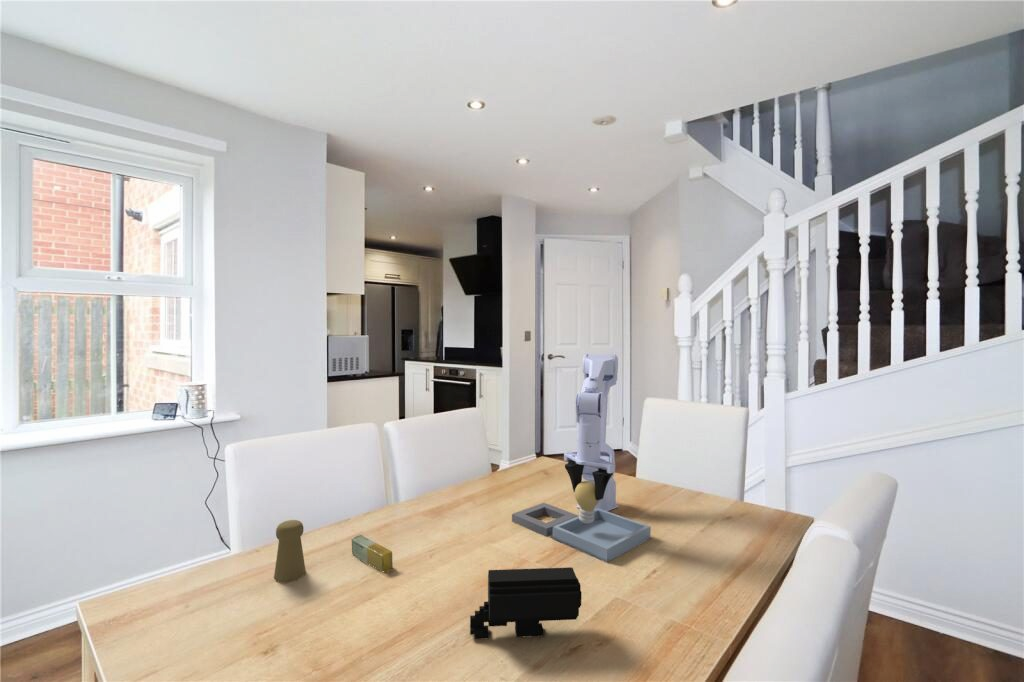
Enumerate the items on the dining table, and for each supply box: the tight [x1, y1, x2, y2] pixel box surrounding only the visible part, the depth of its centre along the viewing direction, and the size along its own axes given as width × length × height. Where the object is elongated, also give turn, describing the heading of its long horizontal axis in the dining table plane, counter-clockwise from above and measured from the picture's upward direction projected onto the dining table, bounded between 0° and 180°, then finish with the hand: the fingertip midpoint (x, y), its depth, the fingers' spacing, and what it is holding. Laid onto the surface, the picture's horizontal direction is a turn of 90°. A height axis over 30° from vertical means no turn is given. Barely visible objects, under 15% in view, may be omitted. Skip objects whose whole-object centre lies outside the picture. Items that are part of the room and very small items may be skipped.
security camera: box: [469, 567, 582, 640], centre depth 83 cm, size 7×18×10 cm, turn 95°
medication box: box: [351, 534, 394, 572], centre depth 107 cm, size 12×3×4 cm, turn 50°
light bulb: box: [574, 480, 599, 524], centre depth 122 cm, size 6×6×10 cm
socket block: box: [511, 502, 579, 538], centre depth 129 cm, size 12×12×2 cm
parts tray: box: [552, 508, 652, 563], centre depth 120 cm, size 18×16×3 cm
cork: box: [273, 519, 307, 583], centre depth 101 cm, size 6×6×11 cm
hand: (588, 495), depth 122 cm, fingers closed on light bulb, 6 cm apart
